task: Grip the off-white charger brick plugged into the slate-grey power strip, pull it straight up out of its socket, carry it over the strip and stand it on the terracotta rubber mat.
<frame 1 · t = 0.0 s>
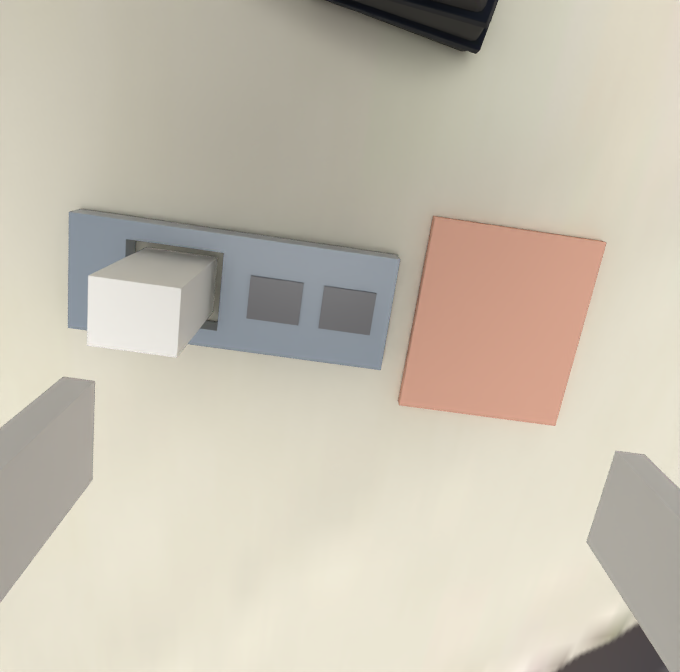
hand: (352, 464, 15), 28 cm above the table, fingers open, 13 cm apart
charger: (180, 279, 42), resting in power strip
power strip: (236, 287, 42), on the table
mat: (495, 324, 43), on the table
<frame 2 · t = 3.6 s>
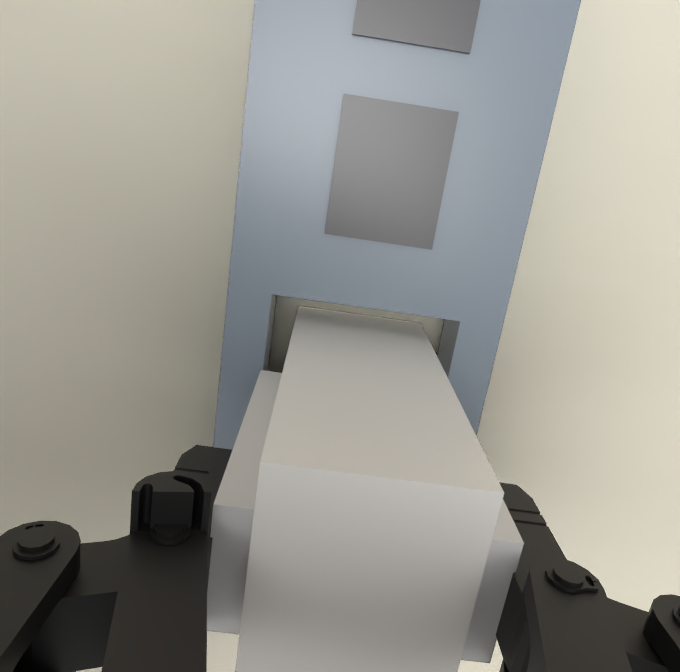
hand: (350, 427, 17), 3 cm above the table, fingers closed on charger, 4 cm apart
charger: (348, 385, 20), resting in power strip, touching gripper
power strip: (367, 269, 19), on the table
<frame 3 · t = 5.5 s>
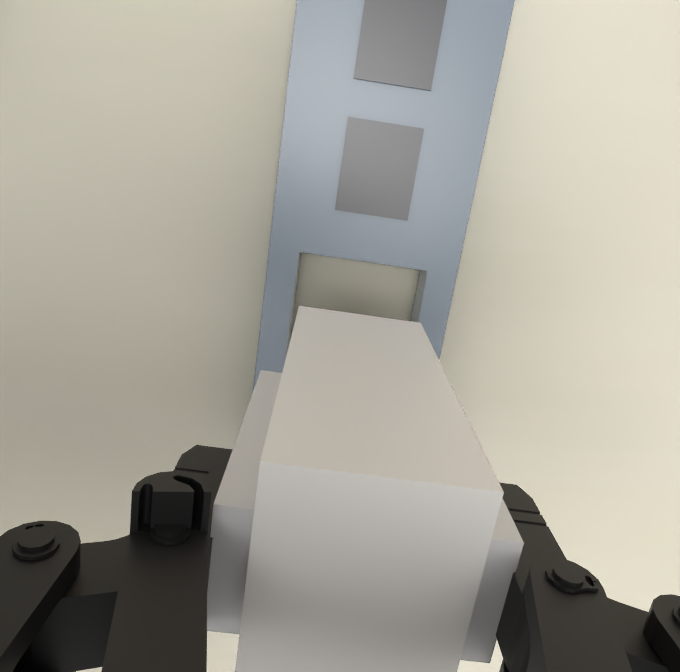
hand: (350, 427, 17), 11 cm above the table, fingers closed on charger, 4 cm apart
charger: (348, 385, 20), point 8 cm above the table, touching gripper
power strip: (364, 237, 26), on the table
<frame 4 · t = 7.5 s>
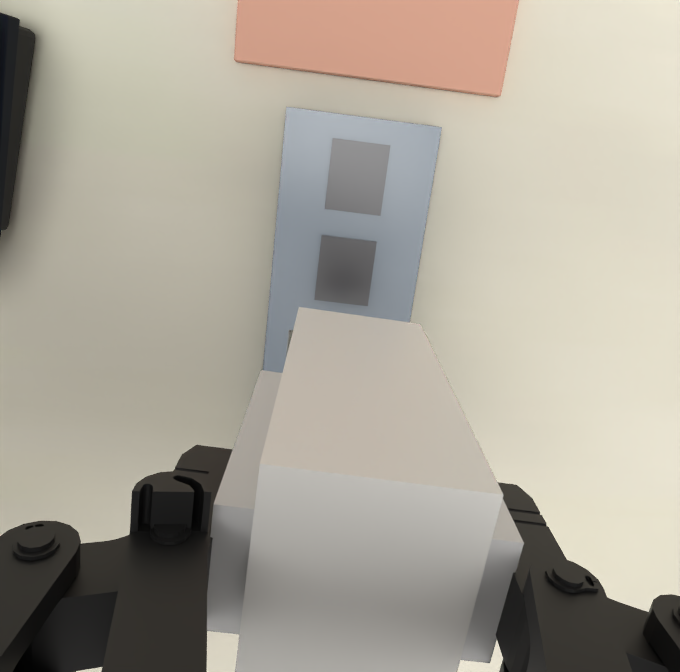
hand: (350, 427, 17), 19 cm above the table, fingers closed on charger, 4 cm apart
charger: (348, 386, 20), point 16 cm above the table, touching gripper
power strip: (338, 313, 35), on the table
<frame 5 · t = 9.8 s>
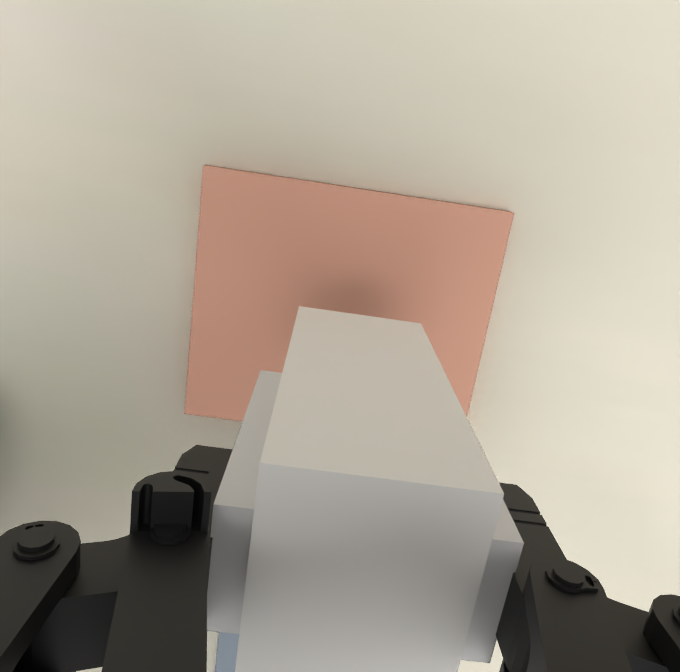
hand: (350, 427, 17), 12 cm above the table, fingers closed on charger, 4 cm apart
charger: (348, 385, 20), point 9 cm above the table, touching gripper
power strip: (292, 625, 34), on the table
mat: (340, 313, 29), on the table
when the fingers open (5 cm above the table, at t = 11.7 s): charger drops 1 cm, resting on mat.
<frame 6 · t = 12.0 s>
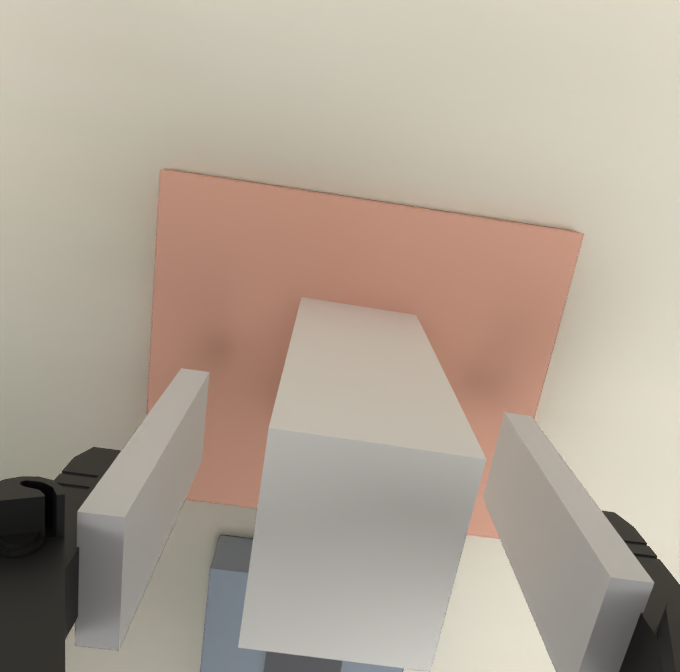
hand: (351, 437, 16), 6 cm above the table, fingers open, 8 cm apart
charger: (347, 373, 21), point 1 cm above the table, touching mat
mat: (347, 365, 22), on the table
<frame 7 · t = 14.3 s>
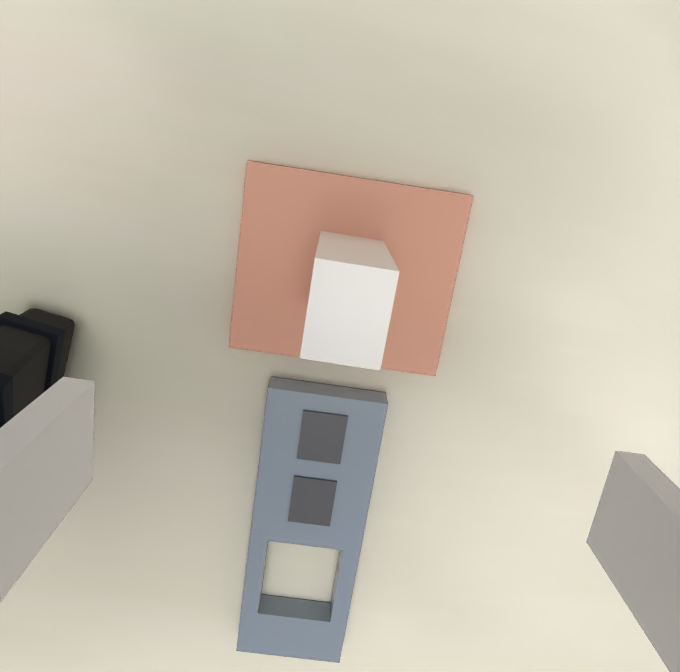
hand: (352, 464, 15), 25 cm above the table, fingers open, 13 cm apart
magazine: (38, 396, 41), on the table
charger: (345, 274, 38), point 1 cm above the table, touching mat
power strip: (308, 519, 44), on the table
mat: (346, 272, 38), on the table
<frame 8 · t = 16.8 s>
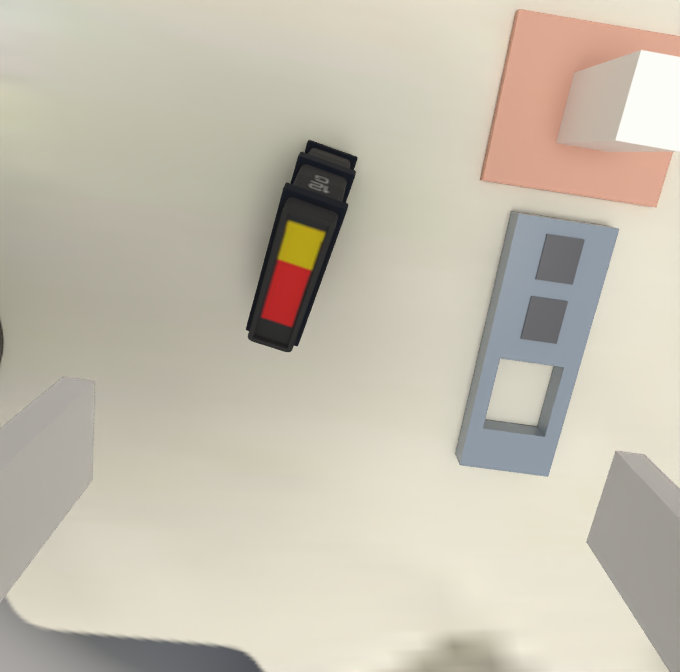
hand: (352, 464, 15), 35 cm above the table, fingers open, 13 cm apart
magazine: (307, 231, 48), on the table
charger: (590, 113, 44), point 1 cm above the table, touching mat
power strip: (527, 346, 50), on the table
mat: (586, 113, 45), on the table
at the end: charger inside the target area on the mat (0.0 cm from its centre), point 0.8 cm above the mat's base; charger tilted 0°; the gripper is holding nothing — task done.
